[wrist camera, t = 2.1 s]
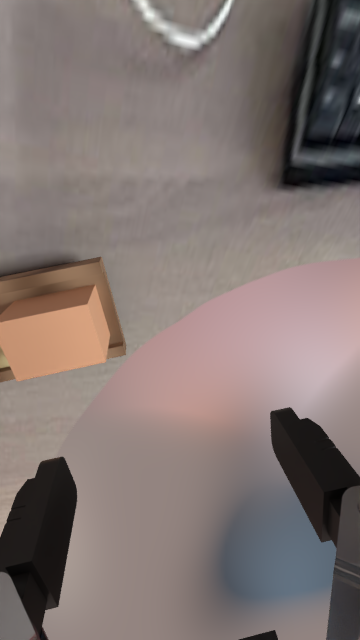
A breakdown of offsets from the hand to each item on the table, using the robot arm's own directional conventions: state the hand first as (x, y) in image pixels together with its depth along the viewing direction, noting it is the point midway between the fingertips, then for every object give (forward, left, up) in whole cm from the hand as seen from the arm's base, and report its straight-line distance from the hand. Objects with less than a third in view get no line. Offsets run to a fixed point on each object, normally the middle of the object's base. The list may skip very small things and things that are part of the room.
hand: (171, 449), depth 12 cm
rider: (+8, 0, -18) cm, 20 cm away
